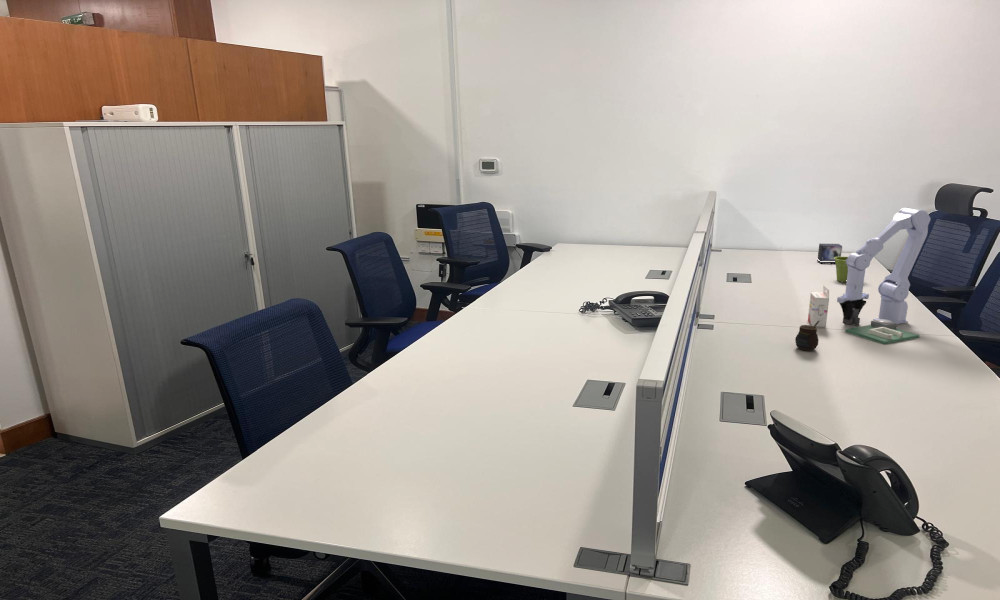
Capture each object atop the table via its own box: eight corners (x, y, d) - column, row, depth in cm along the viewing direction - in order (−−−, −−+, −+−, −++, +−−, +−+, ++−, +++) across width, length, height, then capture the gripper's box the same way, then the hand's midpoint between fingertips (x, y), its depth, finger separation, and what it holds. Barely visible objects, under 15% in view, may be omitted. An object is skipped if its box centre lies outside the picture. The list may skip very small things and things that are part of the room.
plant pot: (859, 279, 321) (862, 257, 318) (857, 284, 312) (860, 261, 309) (832, 277, 328) (835, 255, 325) (830, 281, 318) (832, 259, 315)
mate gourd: (789, 347, 225) (792, 319, 223) (805, 344, 228) (808, 317, 226) (806, 353, 219) (809, 325, 216) (822, 350, 222) (826, 322, 219)
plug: (848, 321, 254) (850, 306, 252) (860, 325, 249) (862, 310, 247) (842, 322, 253) (844, 307, 251) (855, 326, 248) (857, 311, 246)
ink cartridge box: (806, 320, 256) (810, 284, 252) (820, 321, 255) (824, 284, 251) (812, 326, 248) (816, 289, 244) (826, 327, 247) (830, 290, 243)
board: (878, 325, 248) (880, 317, 247) (919, 337, 233) (920, 328, 233) (844, 331, 241) (845, 323, 240) (884, 344, 227) (885, 335, 226)
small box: (820, 263, 359) (822, 245, 357) (816, 261, 366) (818, 243, 363) (840, 264, 358) (842, 245, 355) (836, 261, 364) (838, 243, 361)
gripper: (859, 280, 254) (854, 313, 257) (832, 284, 248) (828, 318, 252) (875, 284, 247) (870, 318, 251) (848, 288, 242) (843, 322, 246)
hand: (850, 318), depth 251 cm, fingers open, 4 cm apart
